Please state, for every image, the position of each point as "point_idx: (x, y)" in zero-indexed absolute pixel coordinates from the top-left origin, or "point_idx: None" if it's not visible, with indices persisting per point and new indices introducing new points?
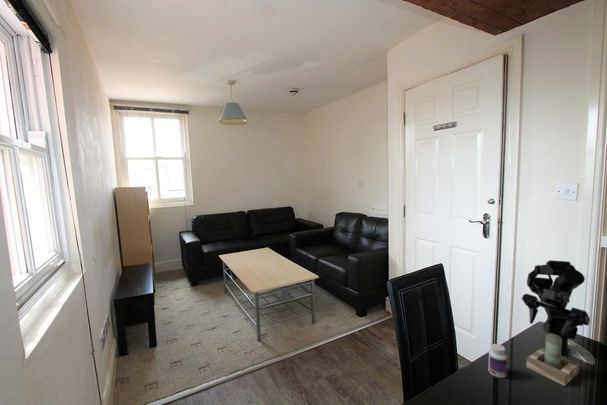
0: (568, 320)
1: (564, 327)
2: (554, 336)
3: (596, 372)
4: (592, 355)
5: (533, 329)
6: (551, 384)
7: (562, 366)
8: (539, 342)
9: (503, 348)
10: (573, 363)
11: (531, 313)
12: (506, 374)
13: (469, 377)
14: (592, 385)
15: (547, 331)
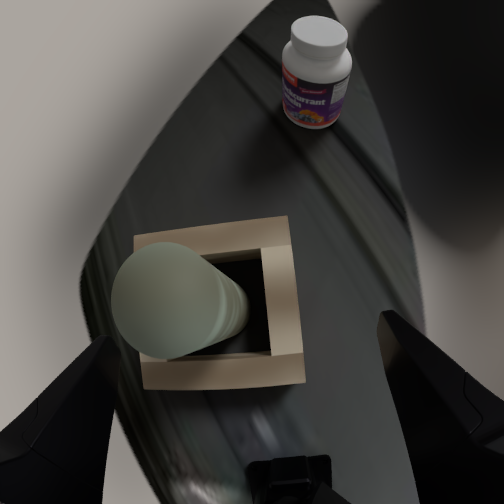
0: (17, 448)
1: (66, 379)
2: (160, 311)
3: (138, 440)
4: None
5: None
6: (180, 211)
7: (199, 356)
8: (361, 475)
9: (301, 34)
10: (155, 373)
11: (449, 380)
12: (286, 112)
13: None
14: None
15: (326, 494)
